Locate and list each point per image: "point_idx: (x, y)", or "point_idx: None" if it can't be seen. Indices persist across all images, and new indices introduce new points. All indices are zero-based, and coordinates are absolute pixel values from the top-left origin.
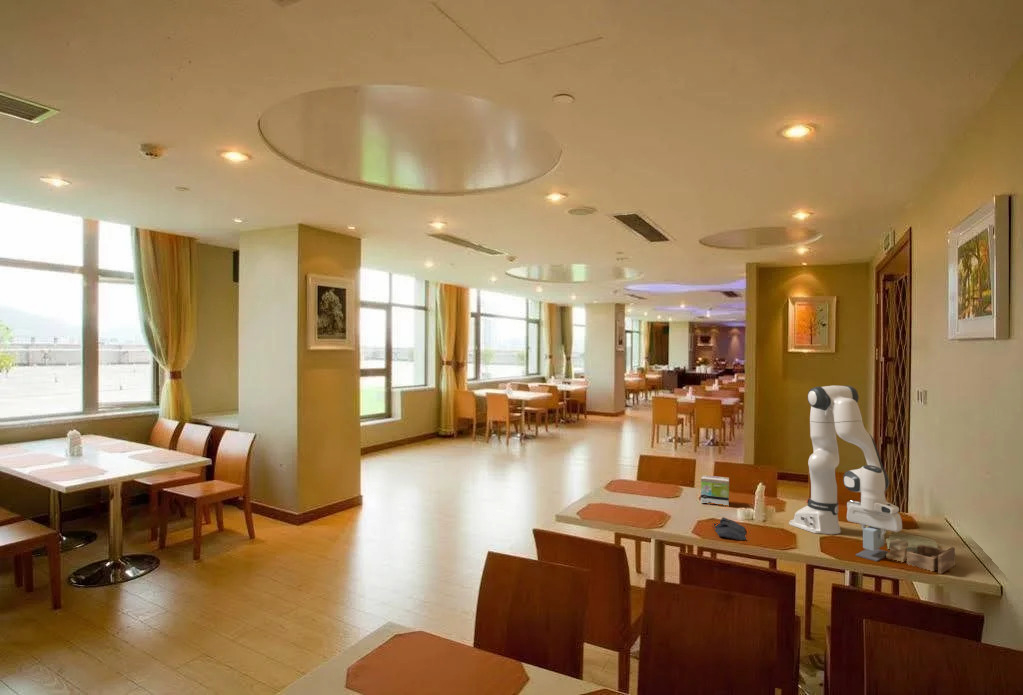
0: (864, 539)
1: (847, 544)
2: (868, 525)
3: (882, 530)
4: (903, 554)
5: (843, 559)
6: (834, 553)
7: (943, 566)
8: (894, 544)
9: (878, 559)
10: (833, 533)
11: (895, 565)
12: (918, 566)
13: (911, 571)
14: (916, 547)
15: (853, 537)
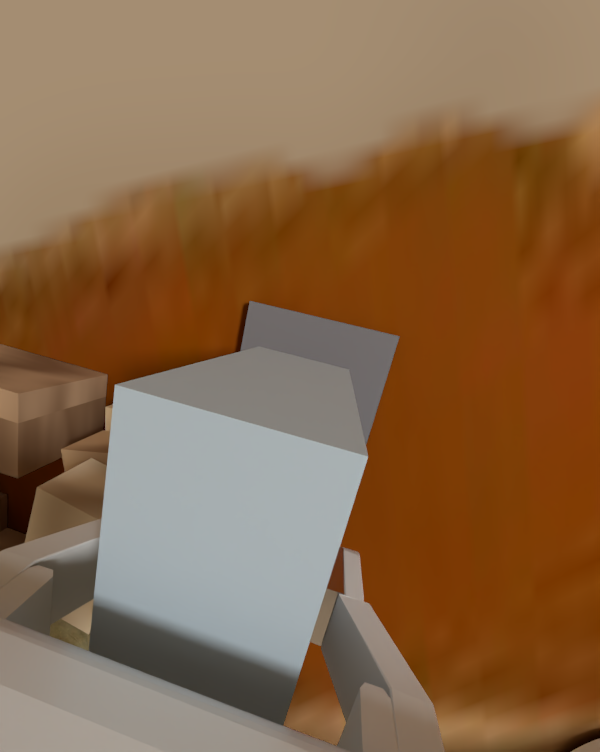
0: (333, 385)
1: (474, 567)
2: (244, 718)
3: (9, 578)
4: (92, 438)
5: (479, 152)
6: (565, 271)
7: None
8: (98, 498)
9: (244, 332)
10: (593, 747)
11: (150, 308)
12: (45, 360)
13: (61, 255)
14: (88, 643)
15: (446, 727)
